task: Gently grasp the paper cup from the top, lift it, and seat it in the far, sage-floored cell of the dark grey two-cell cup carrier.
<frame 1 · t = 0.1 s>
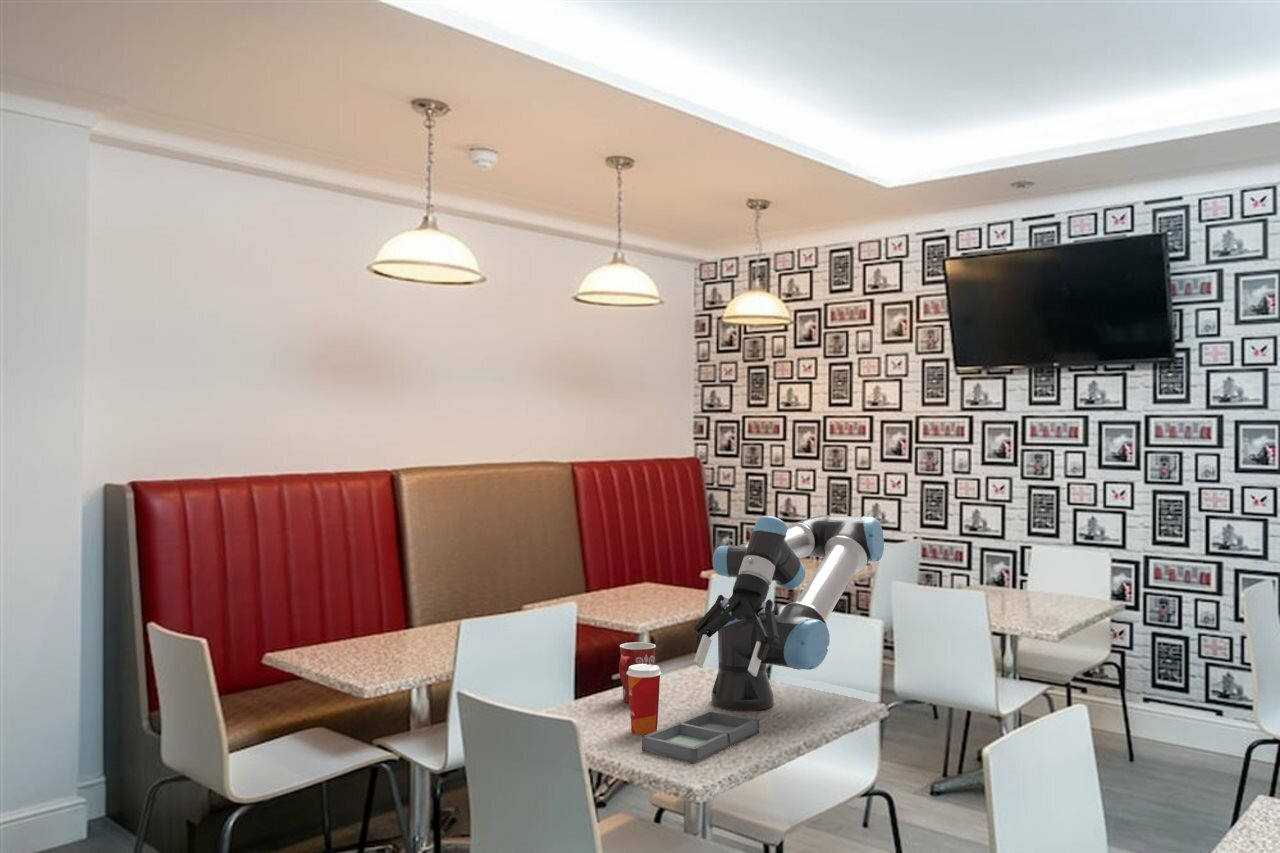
hand: (724, 669, 186), 15 cm above the table, tool tilted 35°, fingers open, 13 cm apart
cup carrier: (702, 741, 187), on the table
paper cup: (644, 732, 194), on the table
mug: (634, 702, 218), on the table
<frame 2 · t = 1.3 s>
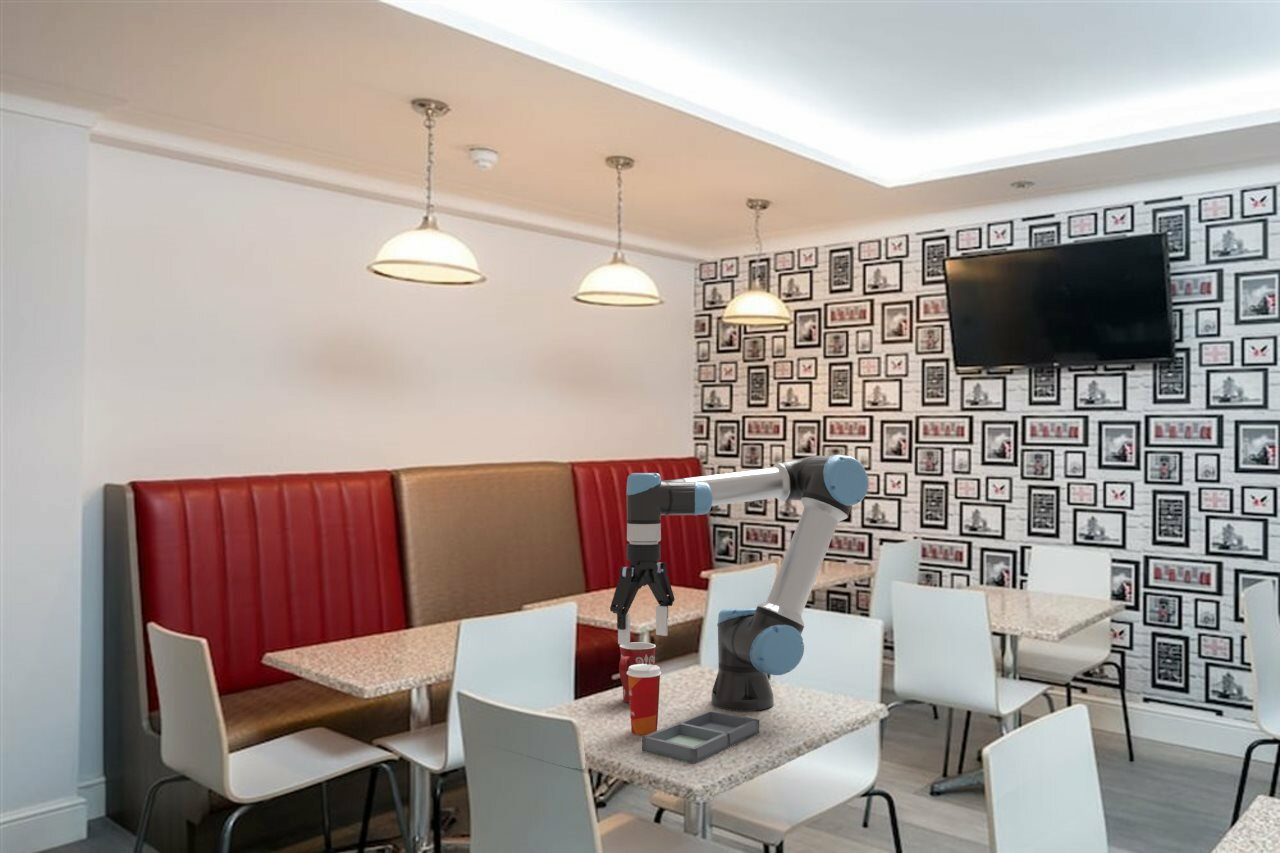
hand: (643, 639, 194), 20 cm above the table, tool pointing down, fingers open, 13 cm apart
nothing on the table moved.
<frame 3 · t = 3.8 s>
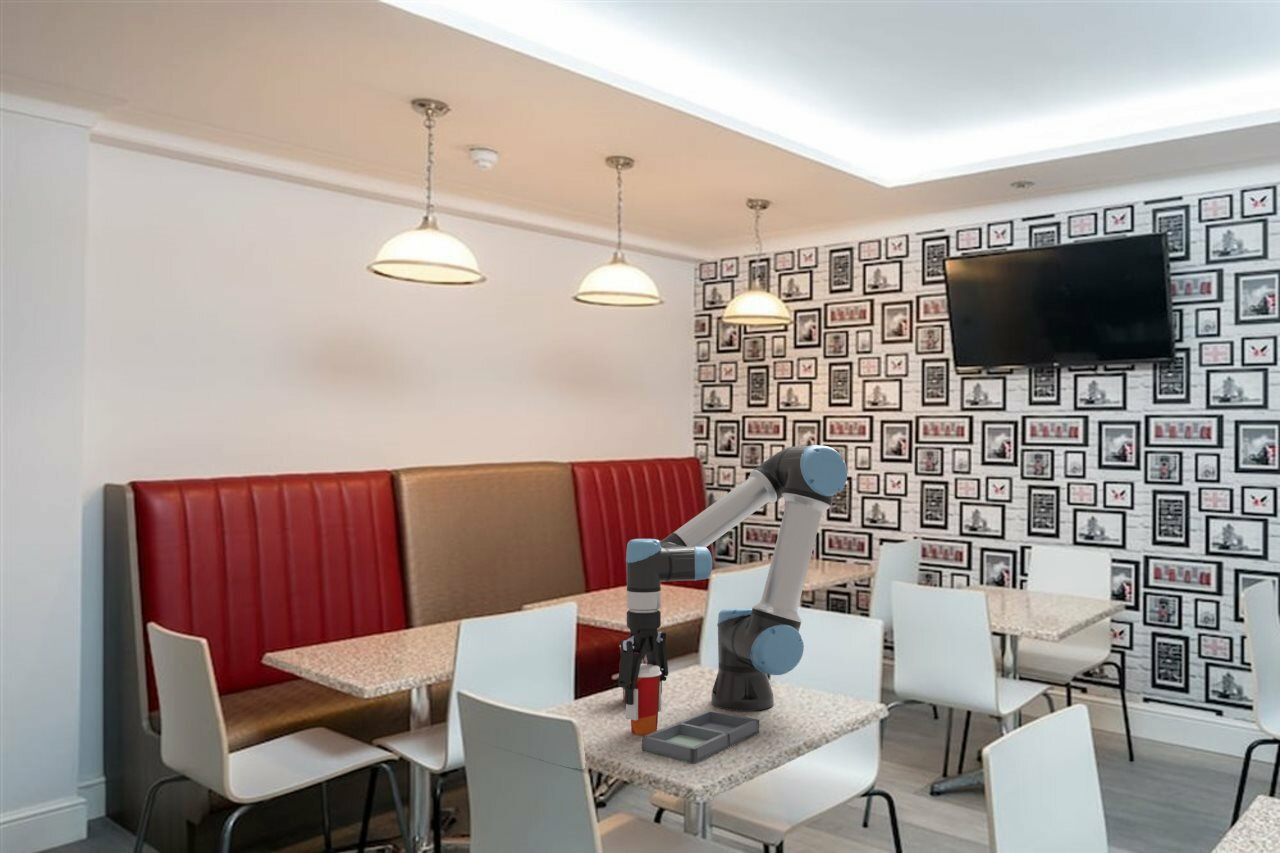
hand: (644, 714, 194), 4 cm above the table, tool pointing down, fingers closed on paper cup, 8 cm apart
paper cup: (644, 732, 194), on the table, touching gripper
everything else where it was.
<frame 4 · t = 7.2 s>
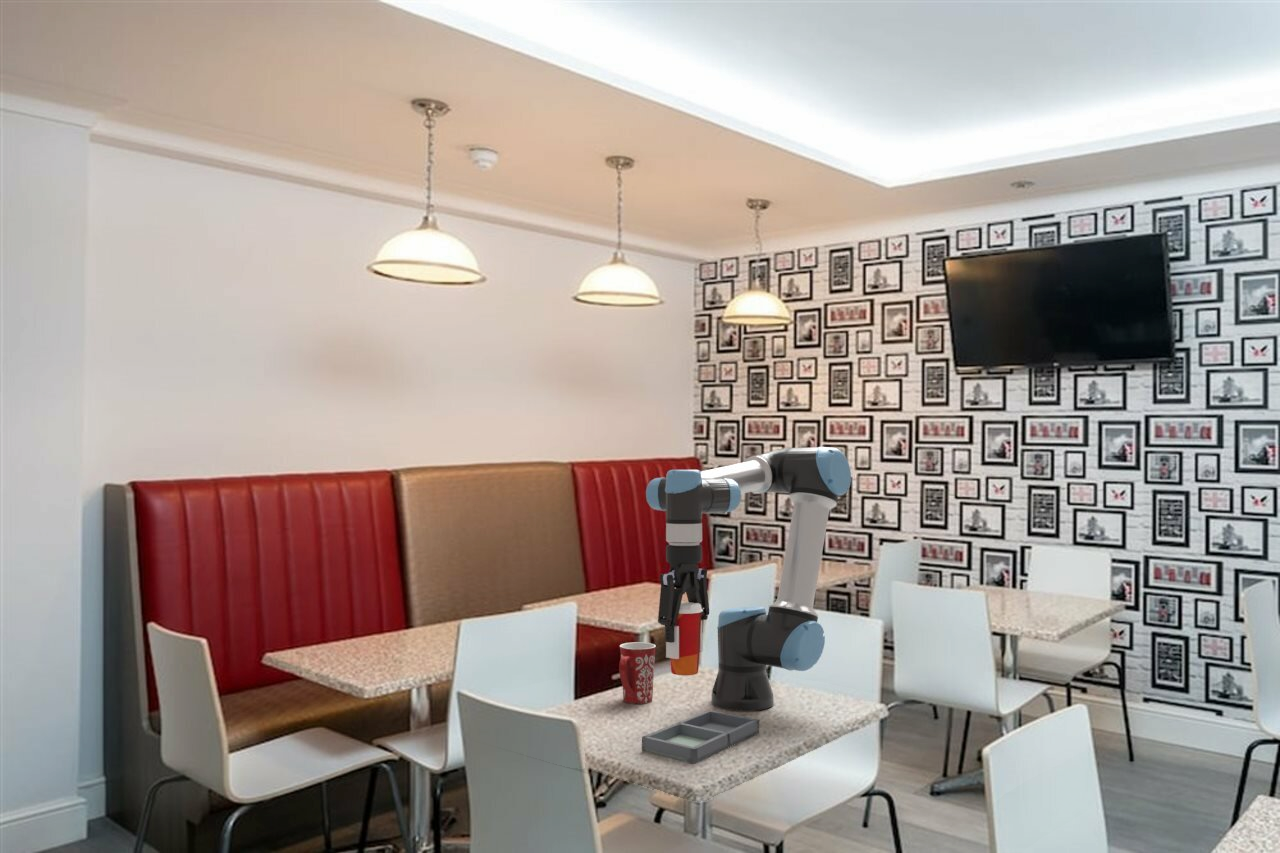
hand: (684, 654, 183), 19 cm above the table, tool pointing down, fingers closed on paper cup, 8 cm apart
paper cup: (684, 673, 183), point 15 cm above the table, touching gripper
everything else where it was.
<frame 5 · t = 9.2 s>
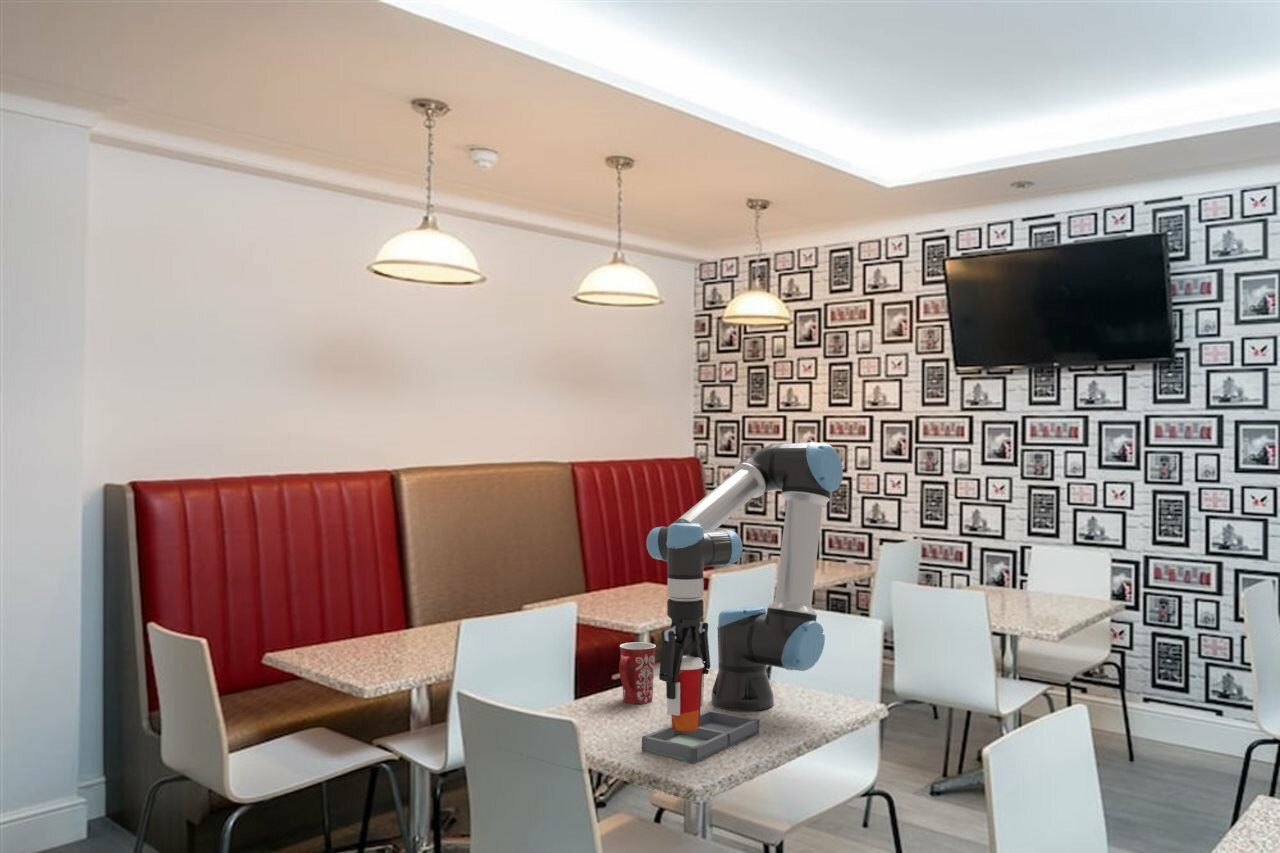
hand: (685, 709, 182), 8 cm above the table, tool pointing down, fingers closed on paper cup, 8 cm apart
paper cup: (685, 728, 182), point 4 cm above the table, touching gripper
everything else where it was.
when the fingers open (6 cm above the table, at t = 10.6 s): paper cup drops 1 cm, resting on cup carrier.
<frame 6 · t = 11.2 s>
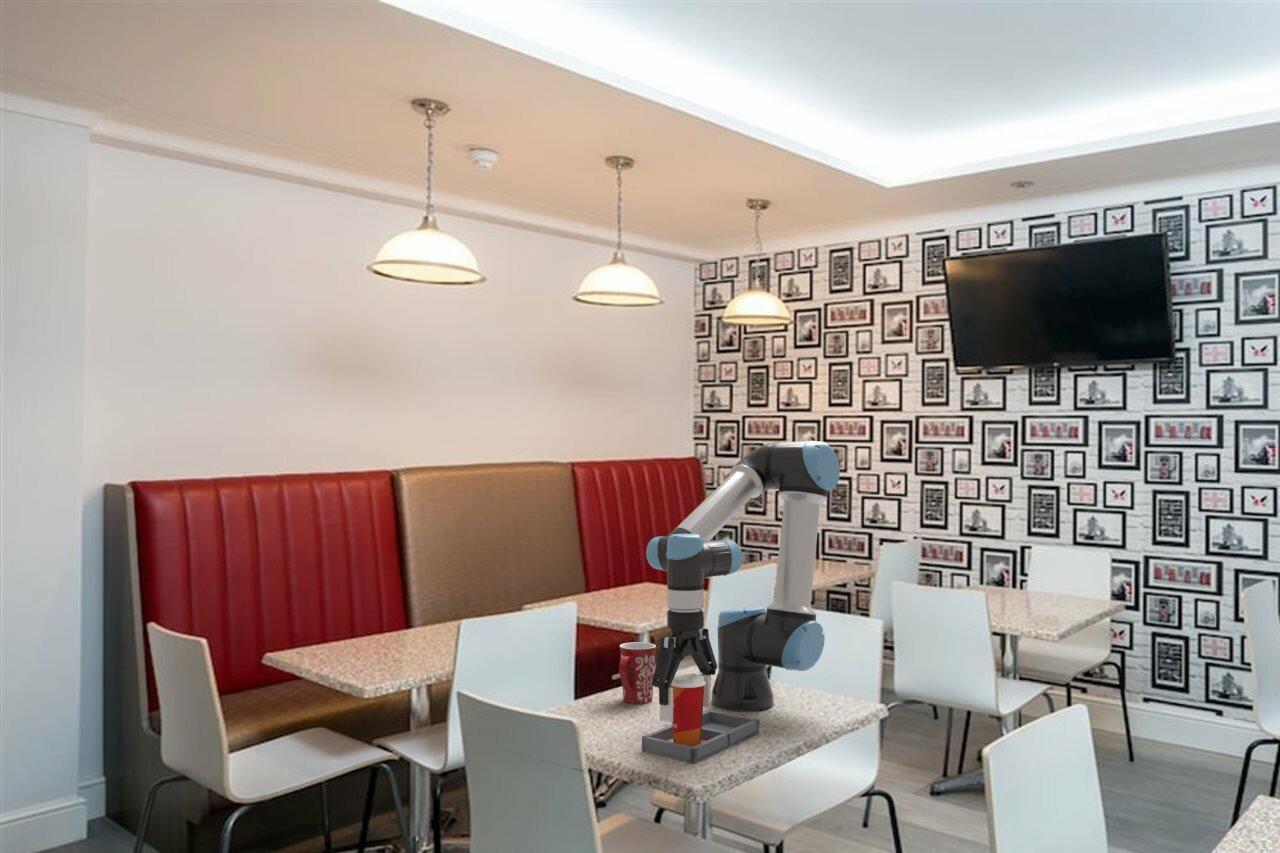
hand: (685, 713, 182), 7 cm above the table, tool pointing down, fingers open, 13 cm apart
paper cup: (686, 746, 182), resting on cup carrier
everything else where it was.
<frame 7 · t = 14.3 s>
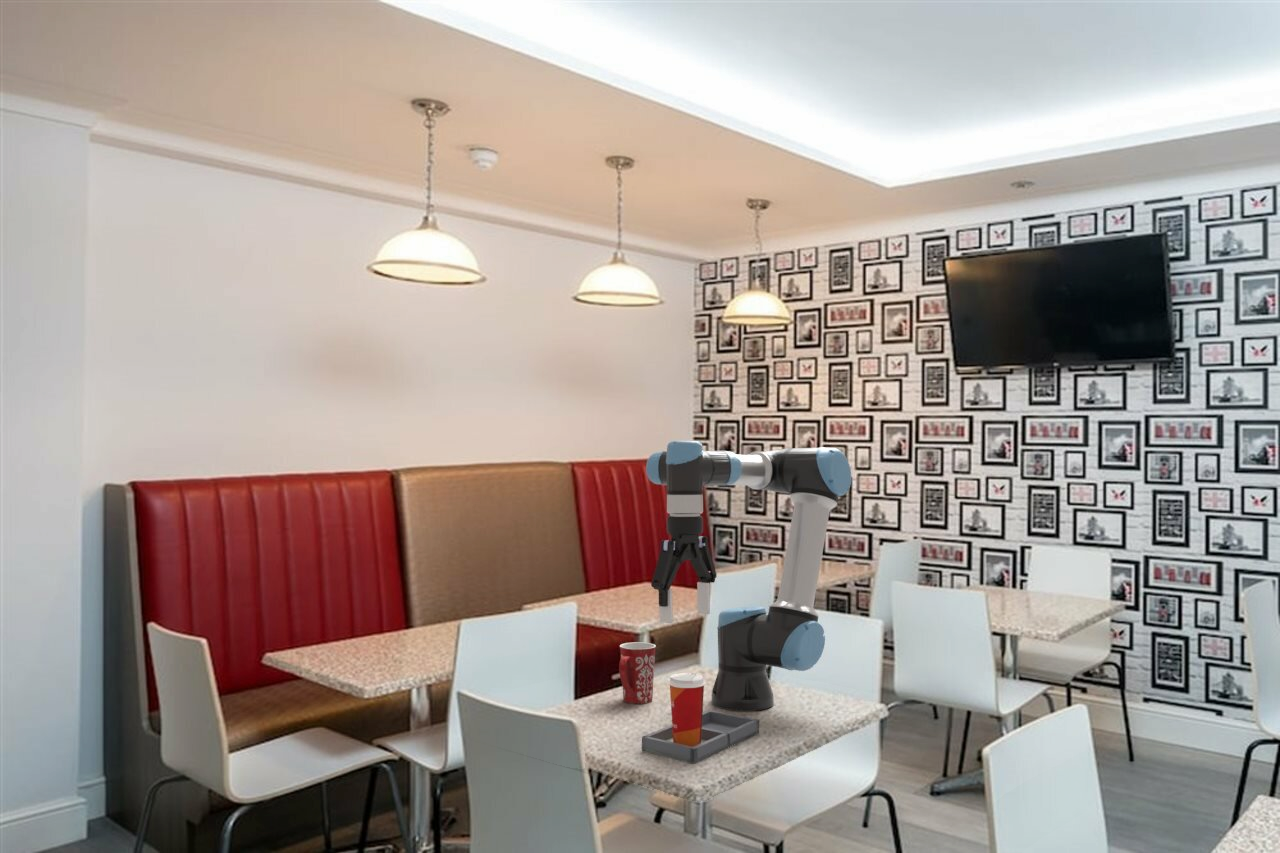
hand: (685, 618, 183), 27 cm above the table, tool pointing down, fingers open, 13 cm apart
nothing on the table moved.
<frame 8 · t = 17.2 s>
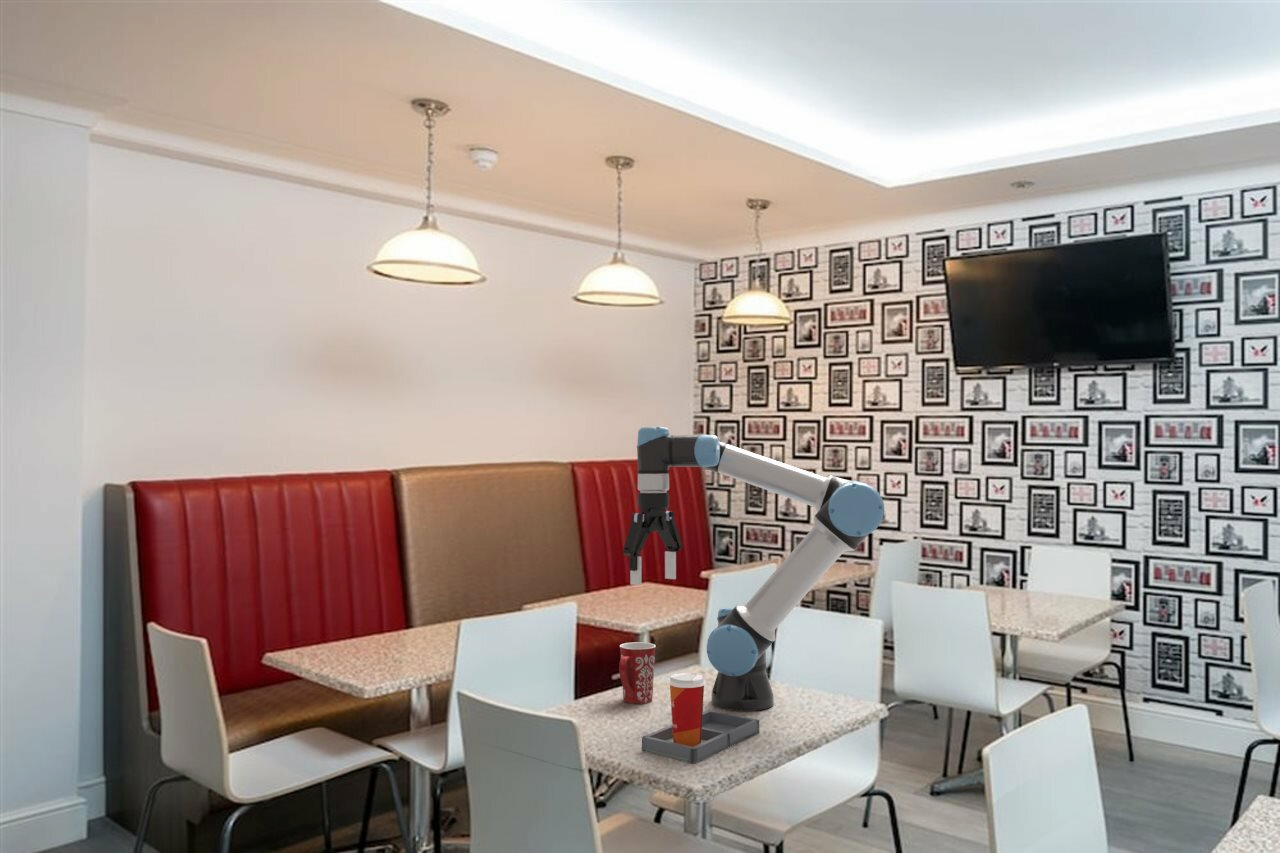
hand: (653, 581, 209), 31 cm above the table, tool pointing down, fingers open, 13 cm apart
nothing on the table moved.
at the end: paper cup 0.2 cm from the target spot on the cup carrier, point 0.4 cm above the cup carrier's base; paper cup tilted 0°; the gripper is holding nothing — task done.
